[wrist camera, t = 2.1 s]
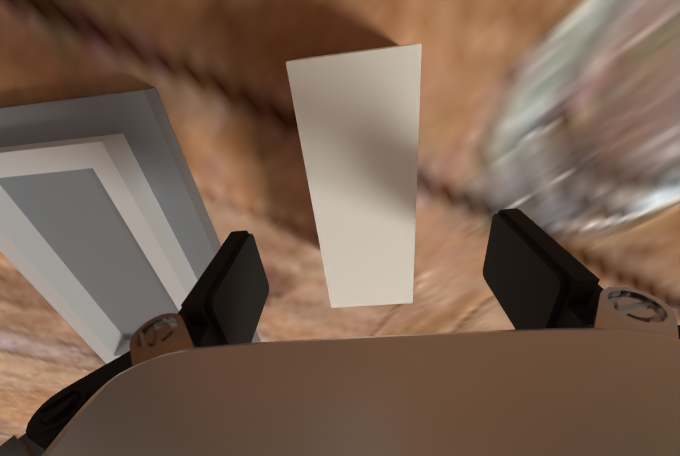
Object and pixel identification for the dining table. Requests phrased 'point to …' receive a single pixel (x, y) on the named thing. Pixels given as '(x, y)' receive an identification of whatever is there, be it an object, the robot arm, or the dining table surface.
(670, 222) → the dining table surface
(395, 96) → the cream rectangular prism
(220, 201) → the dining table surface
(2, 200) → the tray
